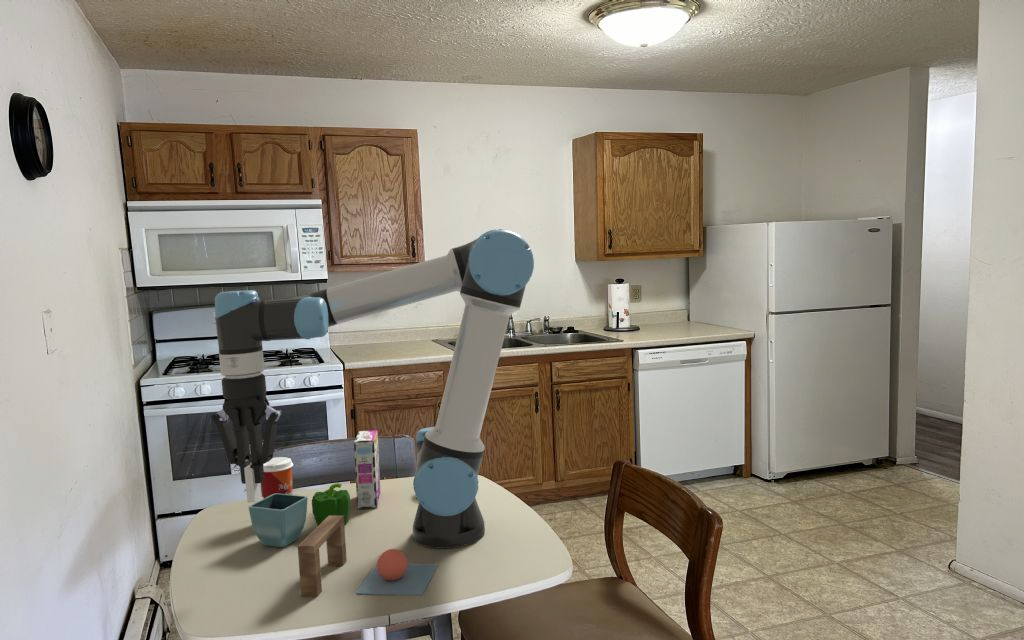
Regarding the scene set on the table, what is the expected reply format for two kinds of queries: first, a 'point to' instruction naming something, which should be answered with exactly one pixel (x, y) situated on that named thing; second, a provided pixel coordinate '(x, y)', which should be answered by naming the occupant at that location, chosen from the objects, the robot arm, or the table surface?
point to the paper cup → (277, 476)
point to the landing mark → (399, 581)
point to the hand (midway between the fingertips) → (254, 499)
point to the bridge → (310, 557)
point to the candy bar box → (367, 469)
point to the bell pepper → (331, 504)
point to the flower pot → (279, 518)
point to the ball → (392, 564)
